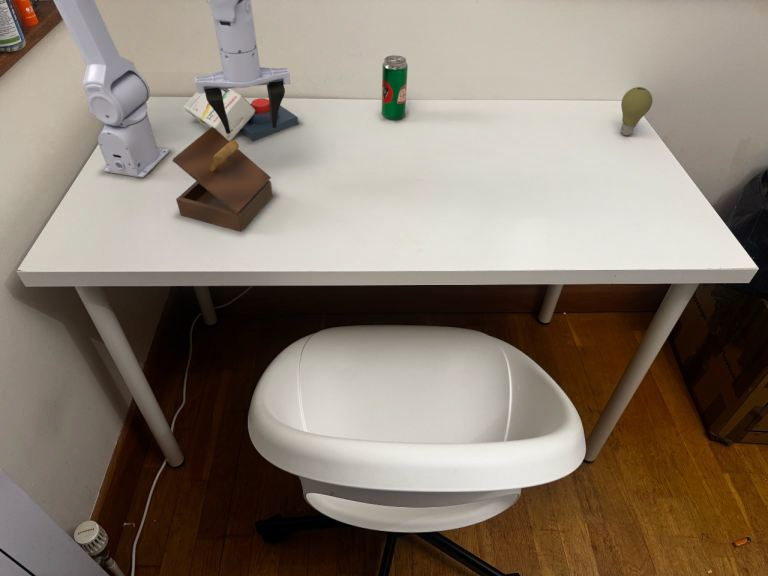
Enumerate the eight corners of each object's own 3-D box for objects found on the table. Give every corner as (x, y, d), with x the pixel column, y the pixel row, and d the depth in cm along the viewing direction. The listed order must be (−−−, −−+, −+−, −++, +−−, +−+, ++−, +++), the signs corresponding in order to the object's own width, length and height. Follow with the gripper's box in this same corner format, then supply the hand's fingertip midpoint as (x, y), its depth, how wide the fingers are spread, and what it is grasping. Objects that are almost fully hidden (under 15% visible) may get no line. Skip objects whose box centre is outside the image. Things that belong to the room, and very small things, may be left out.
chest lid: (172, 160, 86) (181, 142, 83) (210, 128, 94) (221, 111, 90) (236, 214, 89) (248, 199, 86) (269, 179, 96) (281, 164, 93)
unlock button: (259, 116, 113) (257, 108, 112) (249, 109, 115) (248, 101, 113) (274, 110, 114) (273, 102, 113) (264, 104, 116) (263, 96, 115)
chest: (180, 215, 94) (175, 199, 92) (215, 182, 101) (212, 166, 99) (241, 231, 92) (237, 215, 89) (272, 196, 99) (270, 180, 96)
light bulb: (616, 141, 114) (632, 94, 107) (607, 128, 118) (622, 81, 111) (643, 141, 114) (661, 94, 107) (633, 128, 118) (650, 82, 111)
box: (252, 141, 112) (249, 125, 109) (229, 124, 117) (226, 108, 114) (298, 124, 117) (296, 108, 115) (274, 108, 122) (272, 92, 119)
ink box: (209, 74, 114) (242, 94, 108) (224, 91, 118) (257, 111, 112) (182, 106, 113) (214, 128, 107) (198, 121, 117) (229, 143, 111)
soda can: (401, 122, 118) (404, 66, 110) (378, 119, 119) (379, 62, 111) (407, 111, 122) (410, 56, 113) (385, 108, 123) (386, 52, 114)
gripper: (281, 32, 90) (289, 111, 100) (187, 40, 87) (205, 121, 96) (288, 49, 85) (296, 131, 95) (189, 58, 82) (208, 142, 92)
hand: (251, 127), depth 95 cm, fingers open, 7 cm apart
